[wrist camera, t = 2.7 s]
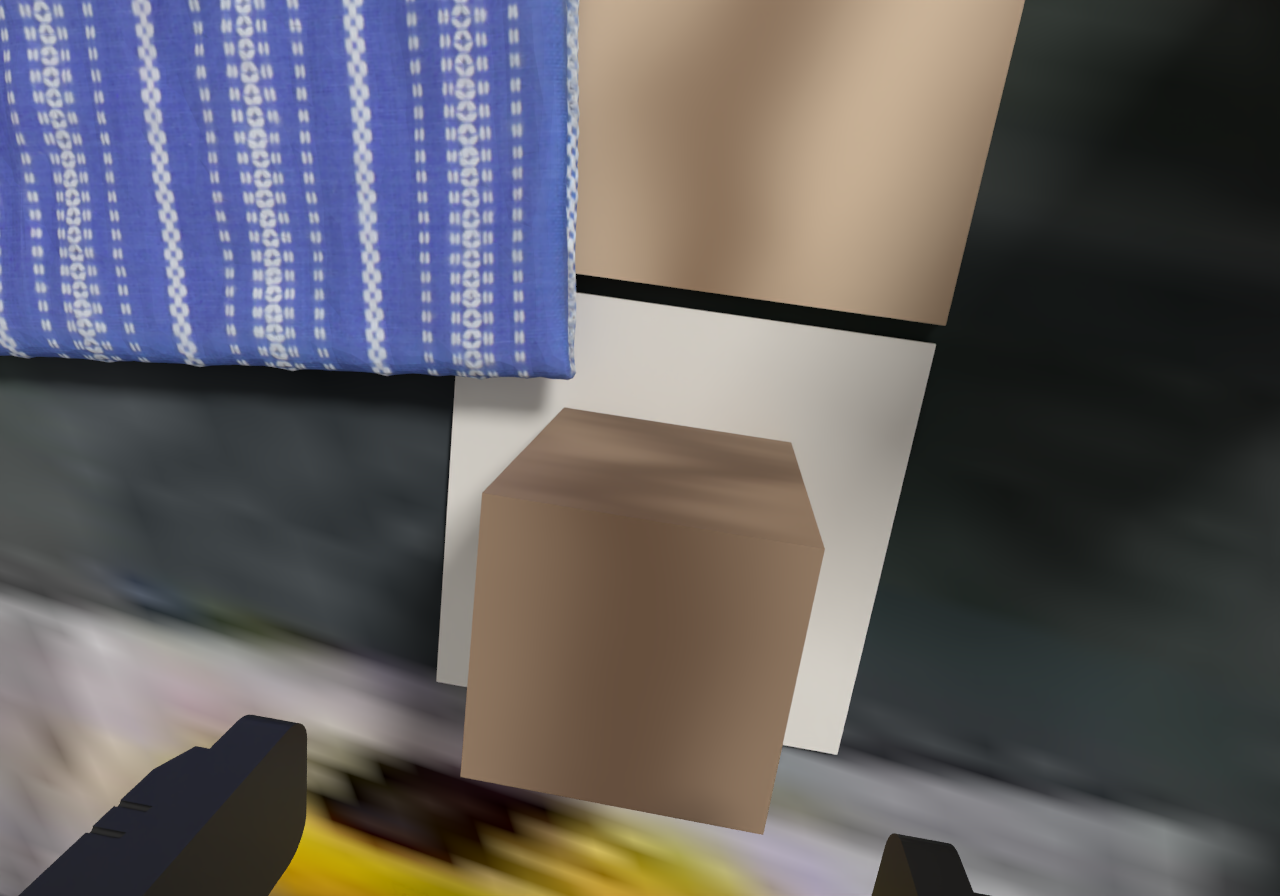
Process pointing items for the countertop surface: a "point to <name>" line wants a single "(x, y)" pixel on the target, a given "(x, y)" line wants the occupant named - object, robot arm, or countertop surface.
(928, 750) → the countertop surface
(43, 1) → the dish towel
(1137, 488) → the countertop surface
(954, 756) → the countertop surface
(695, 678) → the walnut block
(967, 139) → the coaster
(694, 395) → the tile
